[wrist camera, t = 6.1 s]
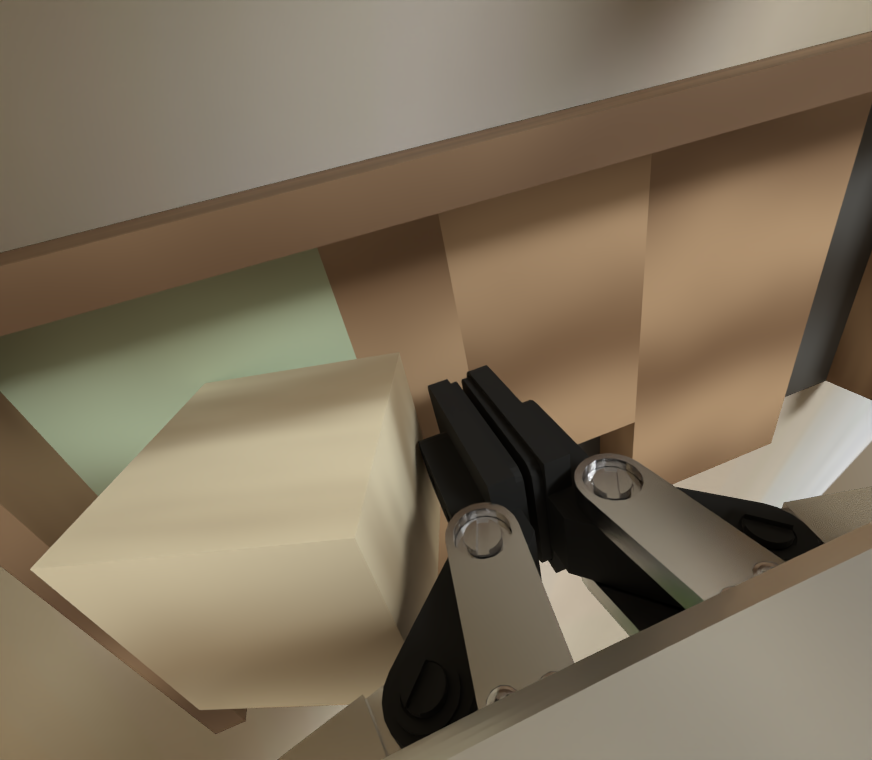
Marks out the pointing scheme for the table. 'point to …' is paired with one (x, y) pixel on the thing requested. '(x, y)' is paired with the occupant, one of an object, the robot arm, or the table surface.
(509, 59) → the table surface
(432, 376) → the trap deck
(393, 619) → the birch block
